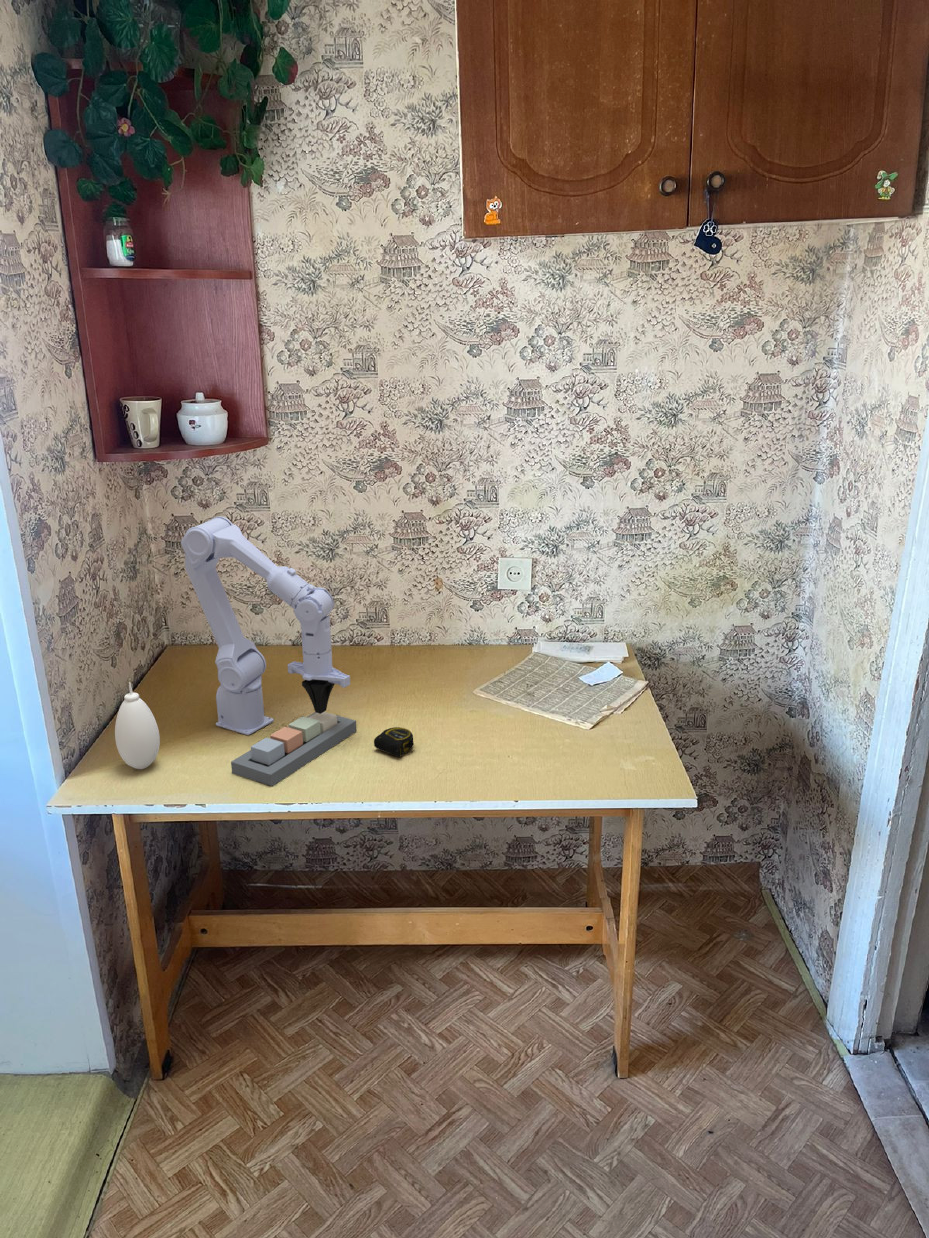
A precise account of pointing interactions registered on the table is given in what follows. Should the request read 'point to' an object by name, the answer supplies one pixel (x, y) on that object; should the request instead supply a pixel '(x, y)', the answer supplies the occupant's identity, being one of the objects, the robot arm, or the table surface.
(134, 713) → the white bulb syringe
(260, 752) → the slate key
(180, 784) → the table surface
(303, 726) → the sage key
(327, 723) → the ivory key
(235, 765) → the key panel
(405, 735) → the tape measure
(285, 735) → the terracotta key
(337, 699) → the table surface
